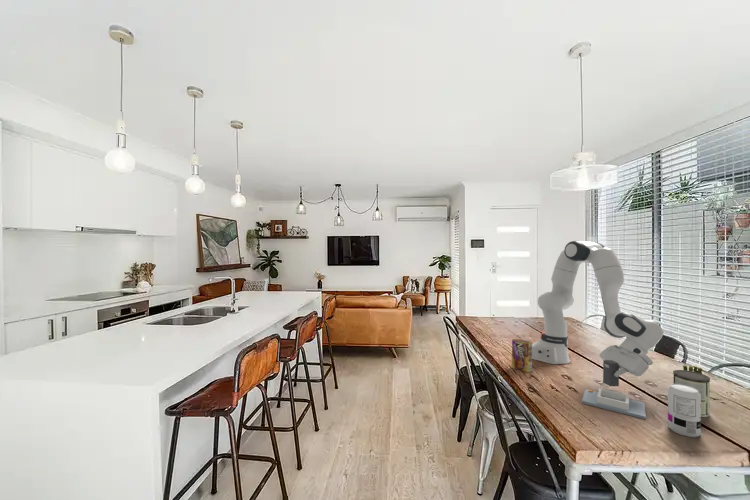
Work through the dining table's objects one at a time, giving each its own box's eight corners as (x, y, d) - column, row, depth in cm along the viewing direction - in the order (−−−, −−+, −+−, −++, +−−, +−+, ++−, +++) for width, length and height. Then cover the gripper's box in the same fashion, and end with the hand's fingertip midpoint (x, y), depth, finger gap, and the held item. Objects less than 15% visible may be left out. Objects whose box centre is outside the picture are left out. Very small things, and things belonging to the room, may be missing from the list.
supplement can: (661, 425, 114) (661, 383, 114) (682, 424, 115) (682, 382, 115) (685, 438, 106) (685, 393, 106) (707, 437, 107) (708, 392, 107)
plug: (602, 382, 144) (603, 360, 144) (611, 382, 144) (612, 360, 144) (609, 386, 140) (610, 363, 140) (618, 386, 140) (619, 363, 140)
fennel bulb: (681, 391, 142) (681, 364, 142) (688, 389, 144) (688, 363, 144) (698, 397, 137) (698, 369, 137) (705, 395, 139) (705, 367, 139)
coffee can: (667, 402, 132) (667, 368, 132) (699, 406, 128) (699, 371, 128) (681, 414, 122) (682, 377, 122) (716, 419, 119) (717, 381, 119)
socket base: (581, 403, 131) (581, 394, 131) (585, 391, 142) (585, 383, 142) (645, 419, 118) (645, 409, 118) (644, 405, 129) (644, 396, 129)
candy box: (532, 370, 166) (532, 341, 166) (528, 372, 163) (528, 342, 163) (515, 366, 173) (515, 337, 173) (511, 367, 170) (511, 339, 170)
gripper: (608, 339, 152) (588, 359, 152) (646, 353, 132) (623, 377, 132) (617, 348, 153) (597, 369, 152) (657, 364, 132) (633, 388, 132)
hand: (609, 373), depth 142 cm, fingers closed on plug, 4 cm apart
